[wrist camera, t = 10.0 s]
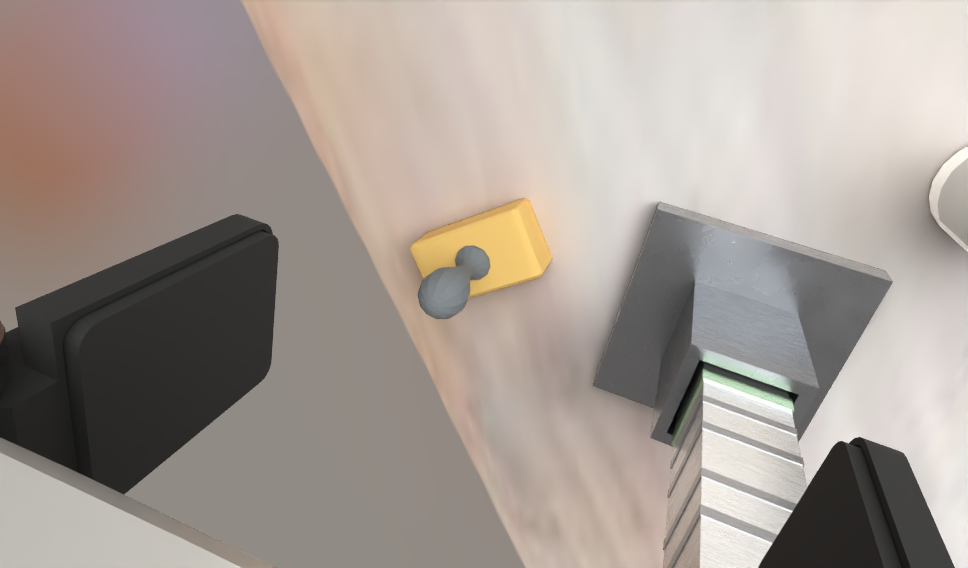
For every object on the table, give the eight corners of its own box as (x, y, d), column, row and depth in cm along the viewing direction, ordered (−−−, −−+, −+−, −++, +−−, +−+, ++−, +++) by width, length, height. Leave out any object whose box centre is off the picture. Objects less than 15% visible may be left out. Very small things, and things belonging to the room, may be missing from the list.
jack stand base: (659, 201, 46) (644, 257, 36) (885, 271, 43) (941, 353, 33) (596, 373, 53) (569, 460, 43) (786, 443, 50) (805, 555, 40)
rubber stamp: (452, 291, 55) (391, 356, 45) (425, 232, 54) (356, 285, 43) (554, 261, 51) (513, 325, 40) (528, 195, 49) (479, 245, 39)
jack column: (703, 346, 39) (695, 663, 20) (786, 375, 38) (862, 738, 19) (674, 409, 42) (643, 747, 23) (752, 438, 41) (789, 817, 22)
